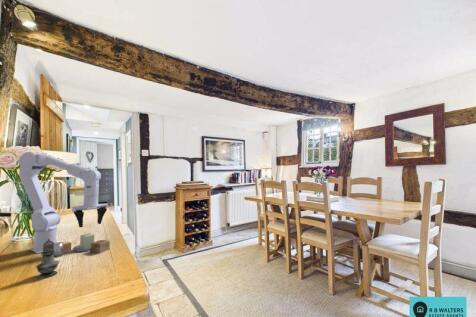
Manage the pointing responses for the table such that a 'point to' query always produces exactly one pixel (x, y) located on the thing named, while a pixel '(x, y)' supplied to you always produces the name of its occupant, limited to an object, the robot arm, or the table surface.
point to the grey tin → (58, 249)
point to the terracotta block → (66, 246)
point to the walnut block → (100, 246)
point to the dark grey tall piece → (47, 261)
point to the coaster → (81, 249)
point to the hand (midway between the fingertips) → (90, 225)
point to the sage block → (86, 240)
